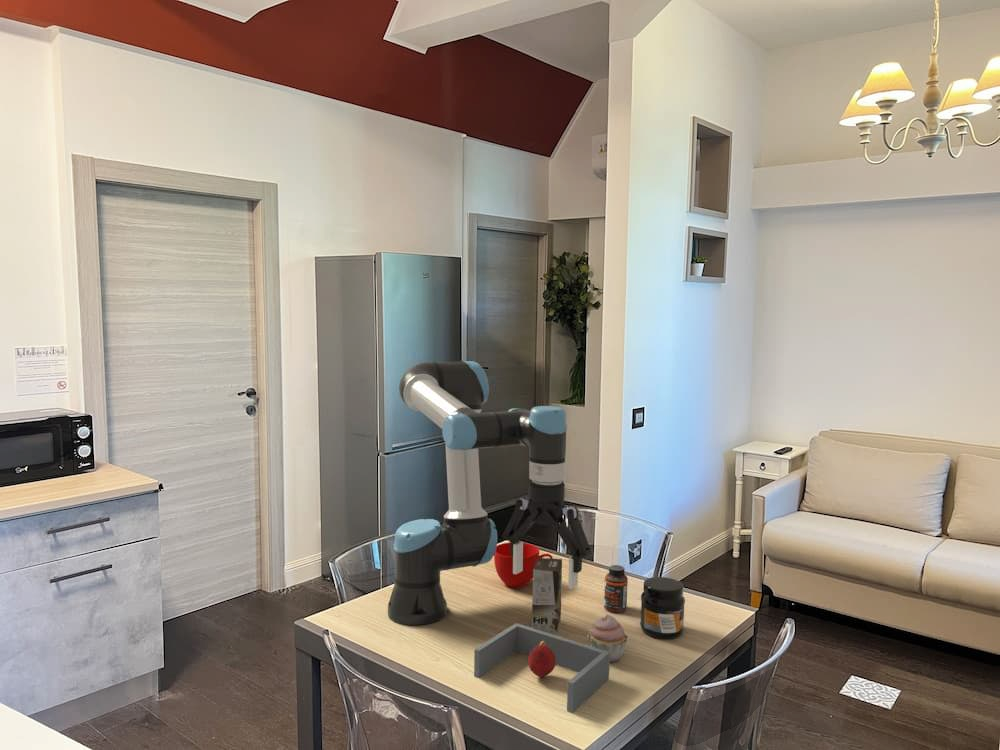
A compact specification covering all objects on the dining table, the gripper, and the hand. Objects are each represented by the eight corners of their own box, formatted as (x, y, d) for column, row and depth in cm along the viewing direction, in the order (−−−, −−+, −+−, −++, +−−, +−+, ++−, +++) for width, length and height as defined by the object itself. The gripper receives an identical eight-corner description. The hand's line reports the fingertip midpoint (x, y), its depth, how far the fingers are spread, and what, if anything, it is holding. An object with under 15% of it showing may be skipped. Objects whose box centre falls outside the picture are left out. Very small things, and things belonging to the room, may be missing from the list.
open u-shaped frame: (474, 675, 157) (474, 649, 156) (515, 647, 170) (515, 623, 169) (572, 712, 143) (573, 683, 143) (608, 679, 156) (609, 652, 156)
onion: (546, 687, 153) (547, 650, 152) (523, 679, 156) (523, 643, 155) (559, 675, 158) (560, 640, 157) (536, 668, 161) (537, 633, 160)
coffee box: (557, 636, 176) (558, 571, 175) (530, 633, 178) (532, 569, 176) (561, 620, 185) (563, 558, 184) (536, 617, 187) (537, 556, 185)
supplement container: (669, 644, 173) (671, 595, 172) (631, 631, 180) (633, 583, 179) (691, 630, 180) (693, 583, 179) (654, 617, 188) (655, 572, 186)
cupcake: (584, 646, 171) (585, 605, 170) (624, 647, 171) (625, 606, 170) (588, 665, 162) (589, 622, 161) (630, 667, 162) (631, 623, 161)
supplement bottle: (601, 611, 191) (602, 569, 190) (606, 602, 197) (608, 561, 196) (623, 615, 189) (625, 572, 188) (628, 606, 194) (630, 565, 193)
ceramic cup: (553, 593, 203) (554, 558, 202) (492, 591, 203) (493, 556, 202) (551, 575, 216) (552, 542, 215) (493, 574, 216) (494, 541, 215)
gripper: (487, 475, 157) (486, 571, 159) (592, 494, 143) (589, 599, 145) (507, 469, 163) (505, 561, 165) (609, 486, 149) (606, 587, 151)
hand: (544, 579), depth 155 cm, fingers open, 13 cm apart
